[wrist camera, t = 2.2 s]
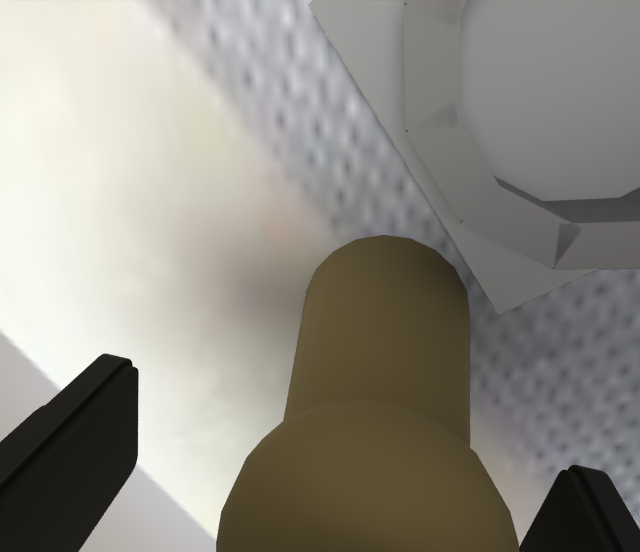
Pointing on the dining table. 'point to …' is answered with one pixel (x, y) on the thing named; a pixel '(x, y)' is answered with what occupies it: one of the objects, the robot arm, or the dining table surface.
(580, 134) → the ring board
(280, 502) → the brown round-headed peg
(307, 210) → the dining table surface
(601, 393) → the dining table surface
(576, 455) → the dining table surface
